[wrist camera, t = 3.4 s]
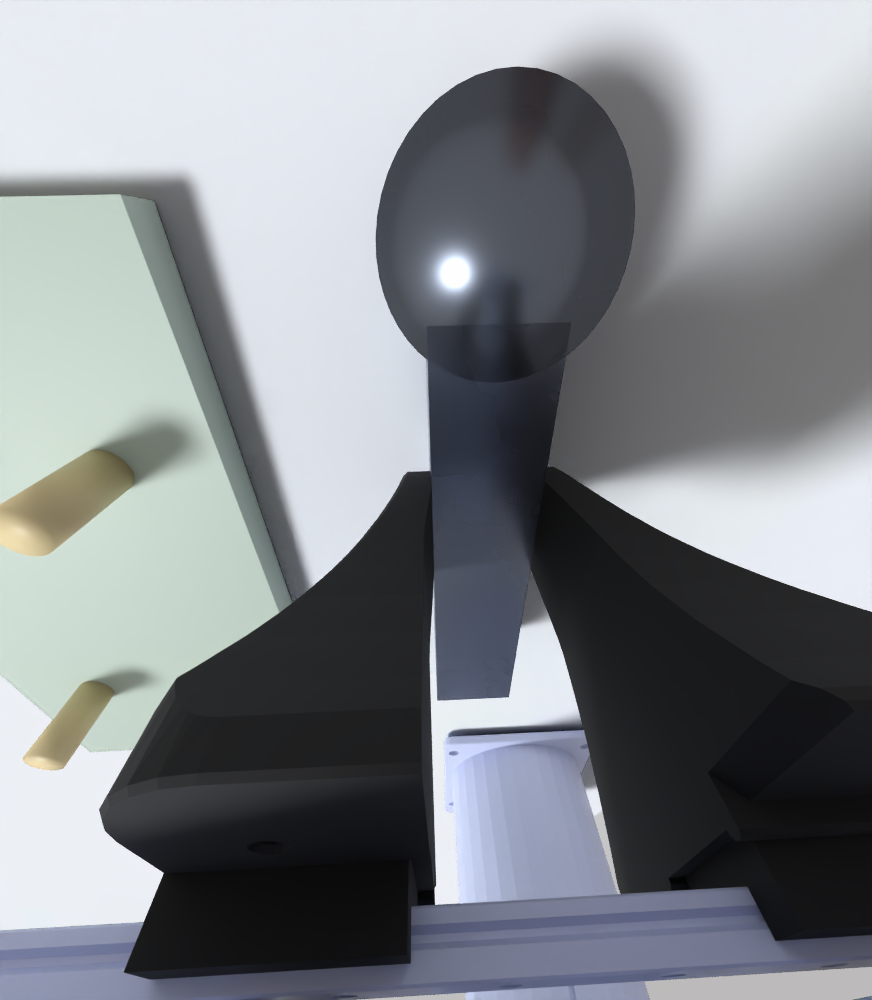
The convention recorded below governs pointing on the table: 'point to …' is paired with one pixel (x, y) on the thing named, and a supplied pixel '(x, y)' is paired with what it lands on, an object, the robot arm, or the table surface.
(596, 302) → the dark grey spoon shape
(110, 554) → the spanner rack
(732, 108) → the table surface
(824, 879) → the robot arm
